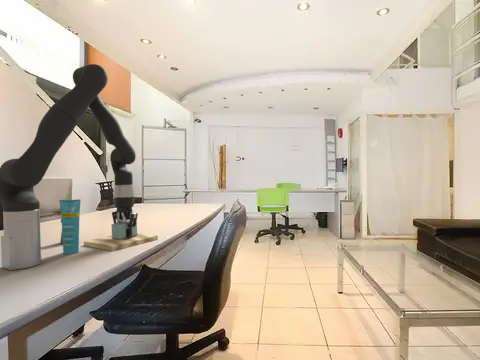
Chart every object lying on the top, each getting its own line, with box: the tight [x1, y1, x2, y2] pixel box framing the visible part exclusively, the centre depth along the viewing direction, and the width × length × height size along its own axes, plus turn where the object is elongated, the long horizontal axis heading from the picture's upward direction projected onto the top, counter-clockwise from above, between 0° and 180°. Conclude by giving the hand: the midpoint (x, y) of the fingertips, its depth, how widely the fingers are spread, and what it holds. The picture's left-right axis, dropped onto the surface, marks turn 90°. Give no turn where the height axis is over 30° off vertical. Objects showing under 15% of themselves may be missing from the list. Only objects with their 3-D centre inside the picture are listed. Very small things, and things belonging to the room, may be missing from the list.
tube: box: [58, 198, 82, 255], centre depth 109 cm, size 7×5×19 cm, turn 98°
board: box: [83, 232, 159, 252], centre depth 125 cm, size 22×18×2 cm
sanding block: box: [110, 220, 138, 240], centre depth 126 cm, size 9×4×6 cm, turn 149°
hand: (125, 236), depth 126 cm, fingers closed on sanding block, 4 cm apart
